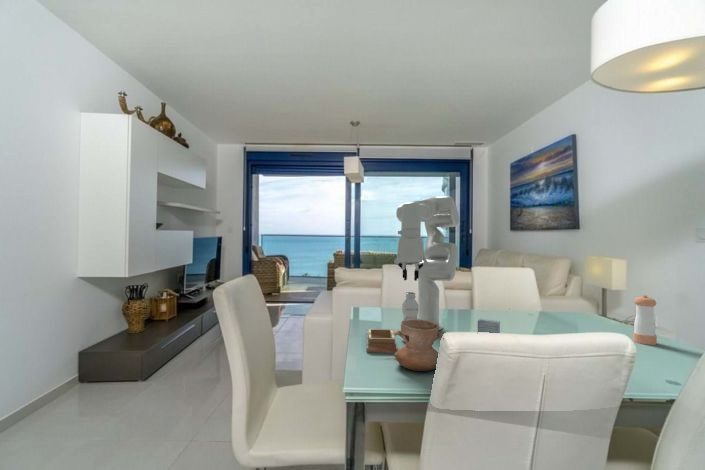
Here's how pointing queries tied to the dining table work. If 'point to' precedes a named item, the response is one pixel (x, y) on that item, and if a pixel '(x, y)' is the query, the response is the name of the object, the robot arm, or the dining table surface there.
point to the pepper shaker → (644, 321)
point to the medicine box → (488, 326)
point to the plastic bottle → (410, 307)
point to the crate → (381, 336)
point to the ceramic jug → (418, 344)
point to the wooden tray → (380, 346)
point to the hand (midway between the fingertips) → (410, 279)
